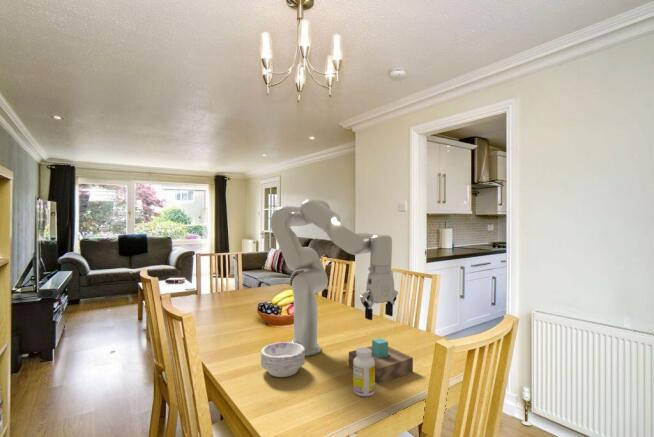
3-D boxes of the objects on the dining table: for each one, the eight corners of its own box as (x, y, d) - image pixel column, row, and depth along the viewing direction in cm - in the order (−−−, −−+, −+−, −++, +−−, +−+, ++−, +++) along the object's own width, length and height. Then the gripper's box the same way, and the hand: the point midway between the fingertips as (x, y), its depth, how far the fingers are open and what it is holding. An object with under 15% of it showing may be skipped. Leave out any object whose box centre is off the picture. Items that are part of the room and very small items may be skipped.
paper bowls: (283, 358, 126) (283, 337, 126) (313, 370, 117) (313, 347, 117) (251, 372, 115) (251, 349, 115) (281, 386, 105) (281, 361, 105)
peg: (378, 372, 115) (378, 343, 115) (372, 367, 119) (372, 339, 119) (387, 369, 117) (388, 341, 117) (380, 365, 121) (381, 338, 121)
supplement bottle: (372, 386, 106) (373, 346, 106) (376, 397, 99) (376, 354, 99) (351, 386, 105) (352, 346, 105) (354, 397, 99) (354, 354, 99)
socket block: (378, 384, 107) (378, 368, 107) (348, 365, 120) (348, 352, 120) (412, 372, 116) (412, 357, 116) (381, 356, 129) (381, 343, 129)
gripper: (368, 272, 110) (367, 324, 110) (405, 269, 120) (403, 316, 120) (354, 269, 117) (353, 317, 117) (390, 266, 126) (389, 311, 126)
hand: (378, 317), depth 118 cm, fingers open, 9 cm apart
